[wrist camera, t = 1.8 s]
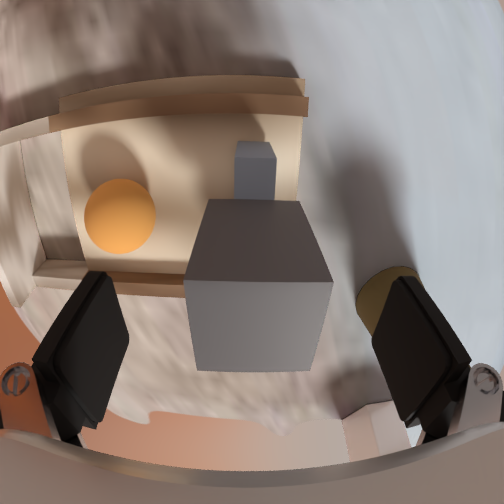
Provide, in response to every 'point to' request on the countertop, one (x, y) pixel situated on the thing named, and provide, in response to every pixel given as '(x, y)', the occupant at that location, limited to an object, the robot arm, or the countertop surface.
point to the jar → (375, 431)
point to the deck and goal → (146, 171)
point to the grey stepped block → (256, 276)
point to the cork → (378, 295)
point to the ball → (119, 216)
